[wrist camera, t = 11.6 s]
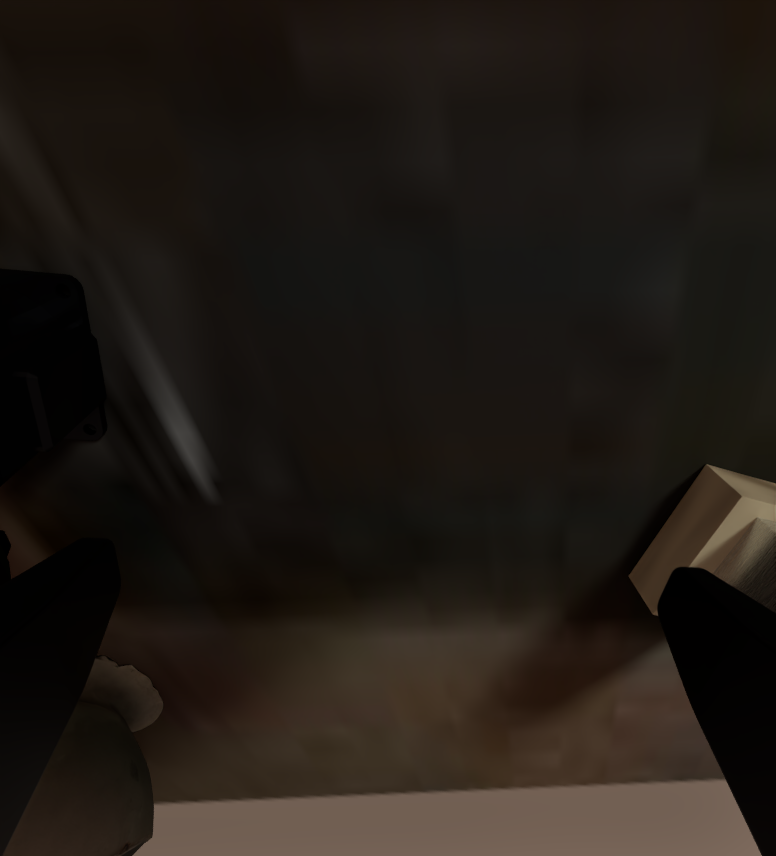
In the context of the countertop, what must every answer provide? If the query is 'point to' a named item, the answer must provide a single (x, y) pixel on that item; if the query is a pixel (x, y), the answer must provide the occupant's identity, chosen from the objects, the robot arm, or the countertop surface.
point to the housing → (753, 563)
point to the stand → (703, 528)
